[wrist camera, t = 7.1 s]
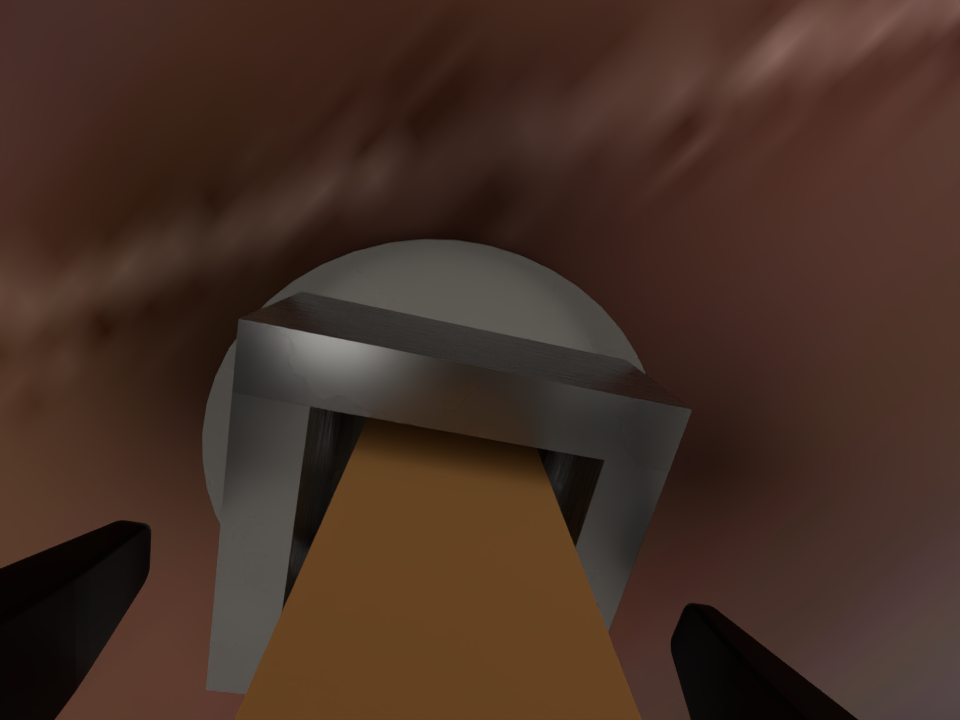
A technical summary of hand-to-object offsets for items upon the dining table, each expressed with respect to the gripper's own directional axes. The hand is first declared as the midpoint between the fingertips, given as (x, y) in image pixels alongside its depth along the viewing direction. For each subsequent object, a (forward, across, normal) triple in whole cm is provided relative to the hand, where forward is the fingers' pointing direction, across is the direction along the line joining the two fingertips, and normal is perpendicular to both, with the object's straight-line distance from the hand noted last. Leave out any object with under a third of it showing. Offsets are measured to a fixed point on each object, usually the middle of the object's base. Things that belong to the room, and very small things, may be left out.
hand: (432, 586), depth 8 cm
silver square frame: (+5, 0, 0) cm, 5 cm away
